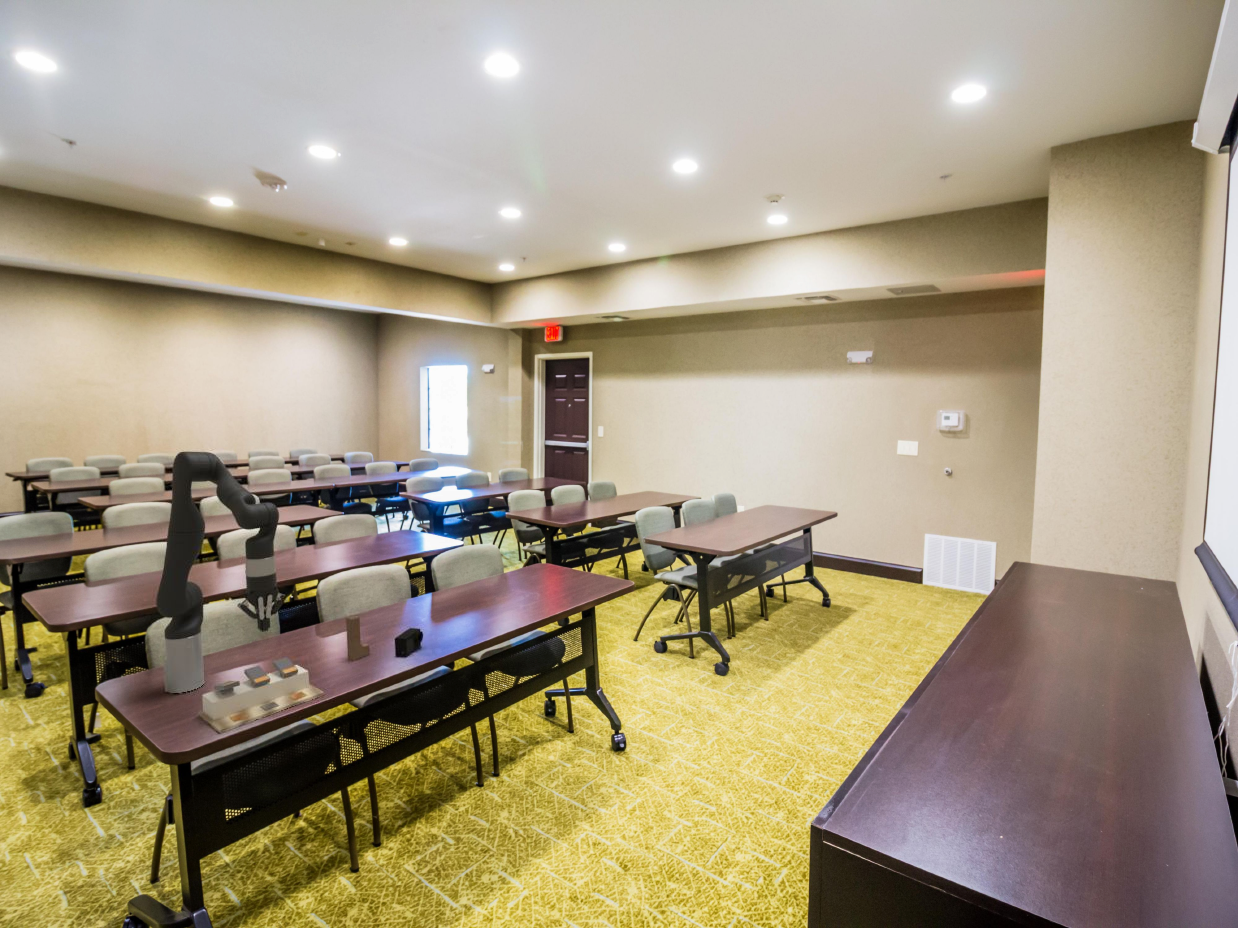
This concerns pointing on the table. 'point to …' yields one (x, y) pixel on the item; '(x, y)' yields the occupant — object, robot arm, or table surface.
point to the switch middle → (257, 676)
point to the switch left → (226, 685)
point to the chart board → (262, 709)
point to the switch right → (285, 667)
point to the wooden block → (355, 639)
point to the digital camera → (408, 642)
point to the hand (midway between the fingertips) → (264, 630)
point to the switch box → (252, 693)
